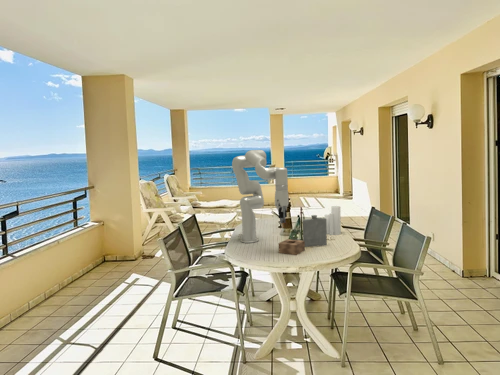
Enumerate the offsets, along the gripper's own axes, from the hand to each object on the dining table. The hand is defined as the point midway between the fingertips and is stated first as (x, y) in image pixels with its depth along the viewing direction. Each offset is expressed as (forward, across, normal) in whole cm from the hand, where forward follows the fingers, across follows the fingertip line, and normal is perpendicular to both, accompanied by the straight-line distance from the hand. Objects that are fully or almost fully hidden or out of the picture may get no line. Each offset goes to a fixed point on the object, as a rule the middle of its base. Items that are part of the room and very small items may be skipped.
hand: (282, 217), depth 243 cm
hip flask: (+22, -23, +11) cm, 33 cm away
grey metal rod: (+3, 0, 0) cm, 3 cm away
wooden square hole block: (+22, -3, +4) cm, 22 cm away
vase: (+22, -60, +9) cm, 64 cm away
